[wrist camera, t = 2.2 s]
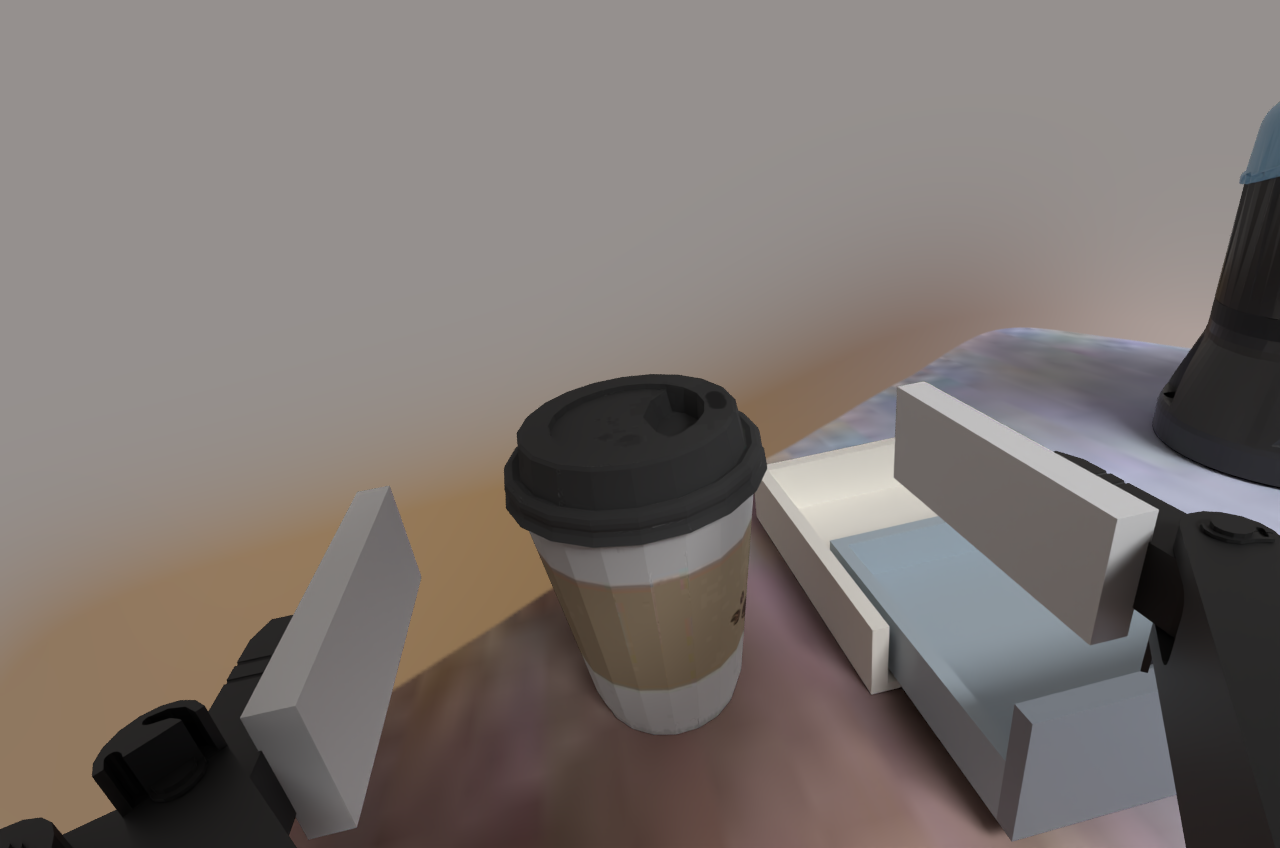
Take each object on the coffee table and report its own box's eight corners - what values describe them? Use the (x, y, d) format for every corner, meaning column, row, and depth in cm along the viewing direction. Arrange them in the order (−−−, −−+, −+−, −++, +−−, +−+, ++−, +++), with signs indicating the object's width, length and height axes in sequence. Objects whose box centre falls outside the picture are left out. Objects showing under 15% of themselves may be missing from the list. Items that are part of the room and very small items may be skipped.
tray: (1065, 531, 36) (1081, 441, 34) (1367, 740, 23) (1429, 618, 21) (830, 586, 35) (829, 497, 32) (1012, 841, 22) (1033, 724, 19)
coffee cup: (811, 758, 27) (800, 455, 20) (553, 797, 27) (463, 507, 20) (753, 587, 37) (733, 351, 31) (566, 615, 37) (509, 386, 31)
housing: (977, 467, 45) (982, 418, 44) (1190, 613, 31) (1210, 548, 29) (756, 516, 44) (752, 467, 42) (871, 694, 29) (872, 630, 27)
